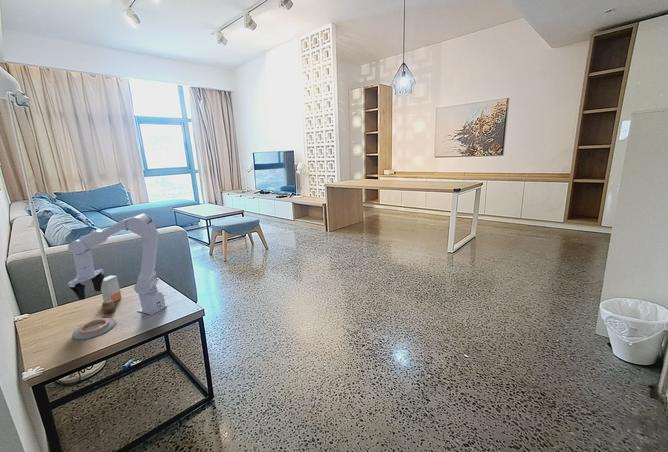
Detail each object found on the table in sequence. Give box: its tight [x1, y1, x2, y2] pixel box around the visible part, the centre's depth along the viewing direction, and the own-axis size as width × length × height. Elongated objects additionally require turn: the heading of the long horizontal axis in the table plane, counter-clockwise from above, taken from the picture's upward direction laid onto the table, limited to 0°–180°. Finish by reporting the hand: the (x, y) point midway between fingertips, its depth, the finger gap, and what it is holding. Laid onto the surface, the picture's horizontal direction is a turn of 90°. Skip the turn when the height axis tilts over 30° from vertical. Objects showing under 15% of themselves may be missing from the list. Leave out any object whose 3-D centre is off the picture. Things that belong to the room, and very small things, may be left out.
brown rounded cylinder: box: [101, 300, 116, 315], centre depth 130 cm, size 4×4×5 cm
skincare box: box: [100, 274, 122, 302], centre depth 140 cm, size 6×4×12 cm
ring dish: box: [71, 317, 117, 341], centre depth 118 cm, size 14×14×2 cm
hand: (90, 295), depth 126 cm, fingers open, 7 cm apart
